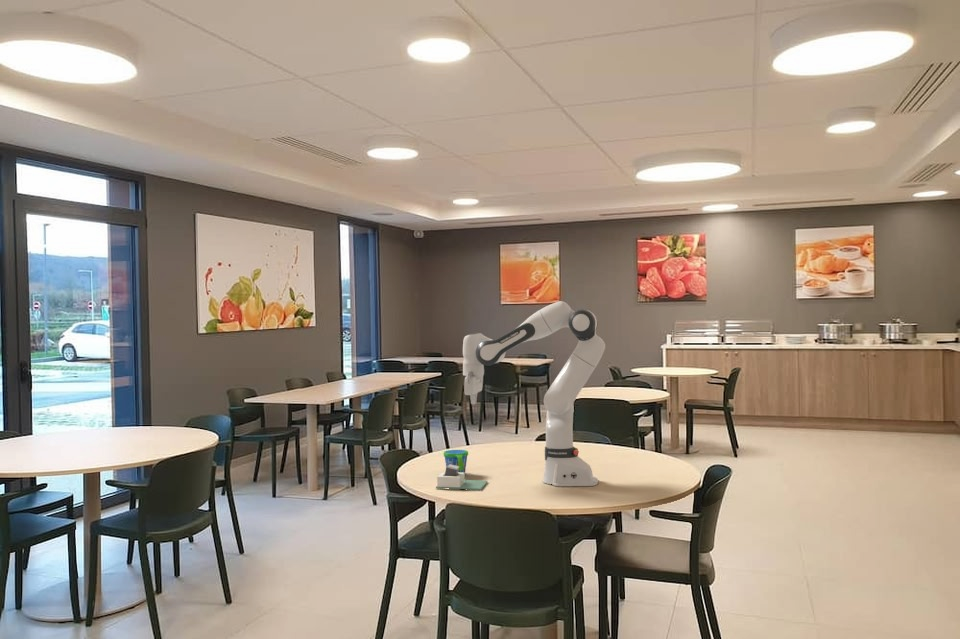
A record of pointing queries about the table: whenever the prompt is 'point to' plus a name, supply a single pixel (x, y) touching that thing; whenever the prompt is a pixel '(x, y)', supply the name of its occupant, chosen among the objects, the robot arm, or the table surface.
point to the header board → (470, 485)
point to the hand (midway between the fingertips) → (473, 404)
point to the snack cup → (456, 458)
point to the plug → (451, 470)
